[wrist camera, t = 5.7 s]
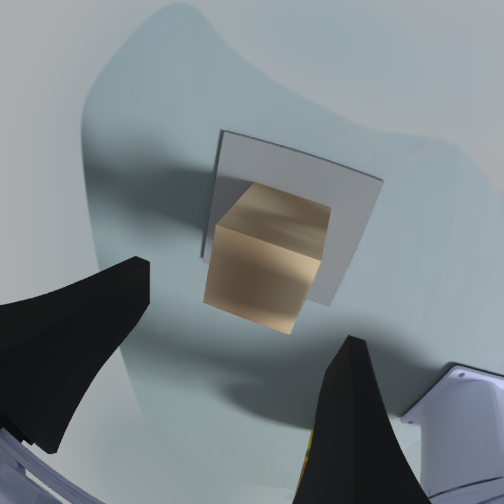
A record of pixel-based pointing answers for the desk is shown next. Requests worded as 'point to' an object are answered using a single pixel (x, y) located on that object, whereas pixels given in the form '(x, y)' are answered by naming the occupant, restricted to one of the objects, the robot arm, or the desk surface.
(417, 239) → the desk surface
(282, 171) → the pad
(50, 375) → the robot arm
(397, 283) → the desk surface
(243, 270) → the oak block
